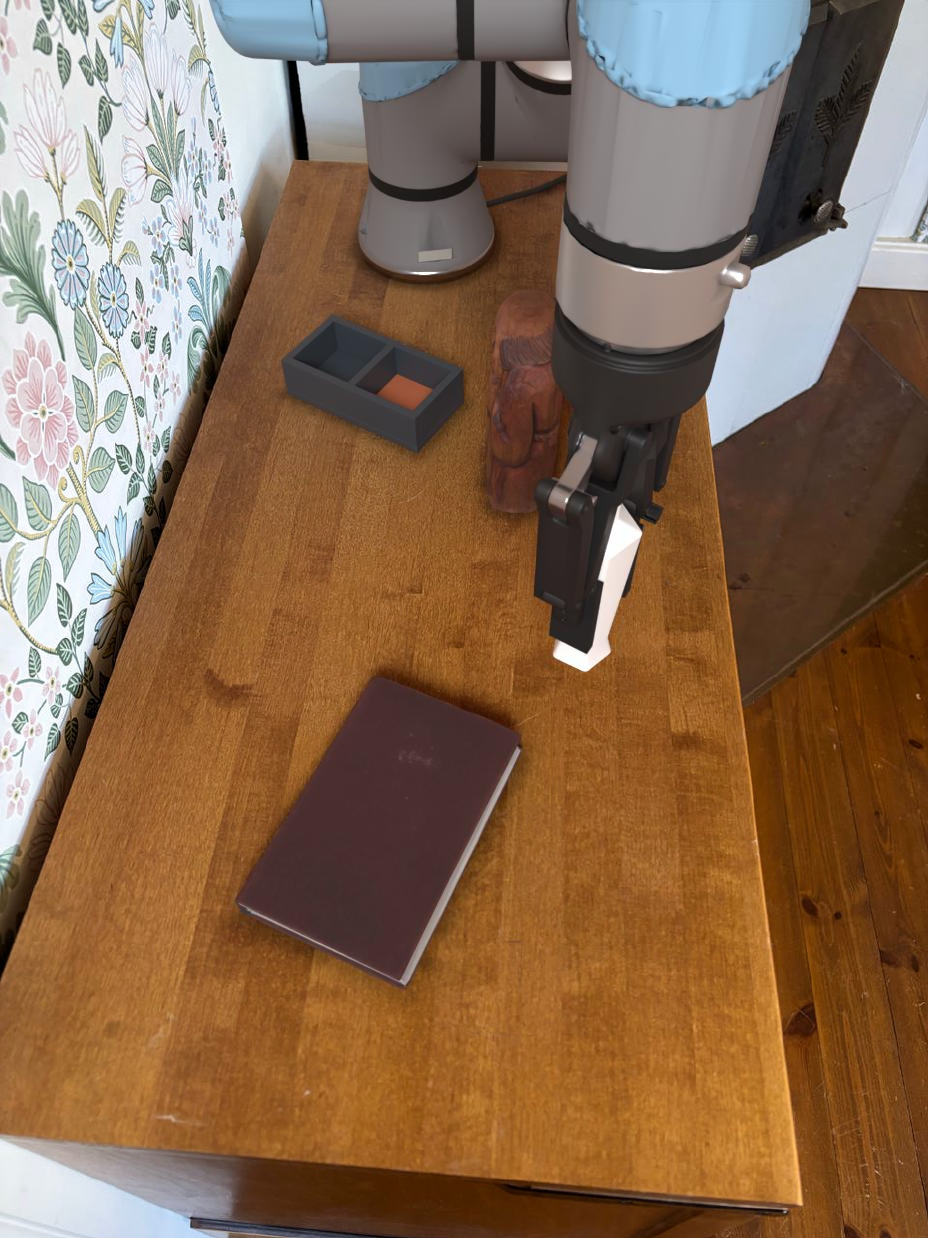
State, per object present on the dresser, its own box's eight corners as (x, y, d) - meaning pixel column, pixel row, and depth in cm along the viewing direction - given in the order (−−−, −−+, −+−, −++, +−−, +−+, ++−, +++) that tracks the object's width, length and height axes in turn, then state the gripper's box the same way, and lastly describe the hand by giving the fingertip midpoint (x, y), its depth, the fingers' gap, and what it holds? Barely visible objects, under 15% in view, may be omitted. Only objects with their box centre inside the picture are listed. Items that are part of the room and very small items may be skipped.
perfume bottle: (611, 681, 63) (644, 532, 51) (545, 669, 64) (561, 518, 51) (620, 624, 66) (654, 469, 53) (556, 613, 66) (575, 457, 54)
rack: (337, 348, 99) (332, 313, 96) (463, 403, 94) (463, 368, 91) (287, 394, 95) (280, 359, 92) (417, 453, 91) (414, 418, 87)
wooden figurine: (487, 425, 93) (490, 258, 78) (554, 427, 92) (569, 261, 78) (481, 518, 86) (483, 355, 71) (554, 521, 85) (570, 357, 71)
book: (239, 914, 65) (229, 897, 63) (375, 691, 75) (372, 668, 73) (404, 996, 62) (401, 982, 60) (524, 752, 72) (526, 730, 70)
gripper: (626, 459, 37) (575, 744, 56) (796, 230, 46) (701, 546, 65) (462, 388, 40) (466, 685, 59) (651, 183, 48) (601, 501, 67)
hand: (590, 612), depth 62 cm, fingers closed on perfume bottle, 4 cm apart
